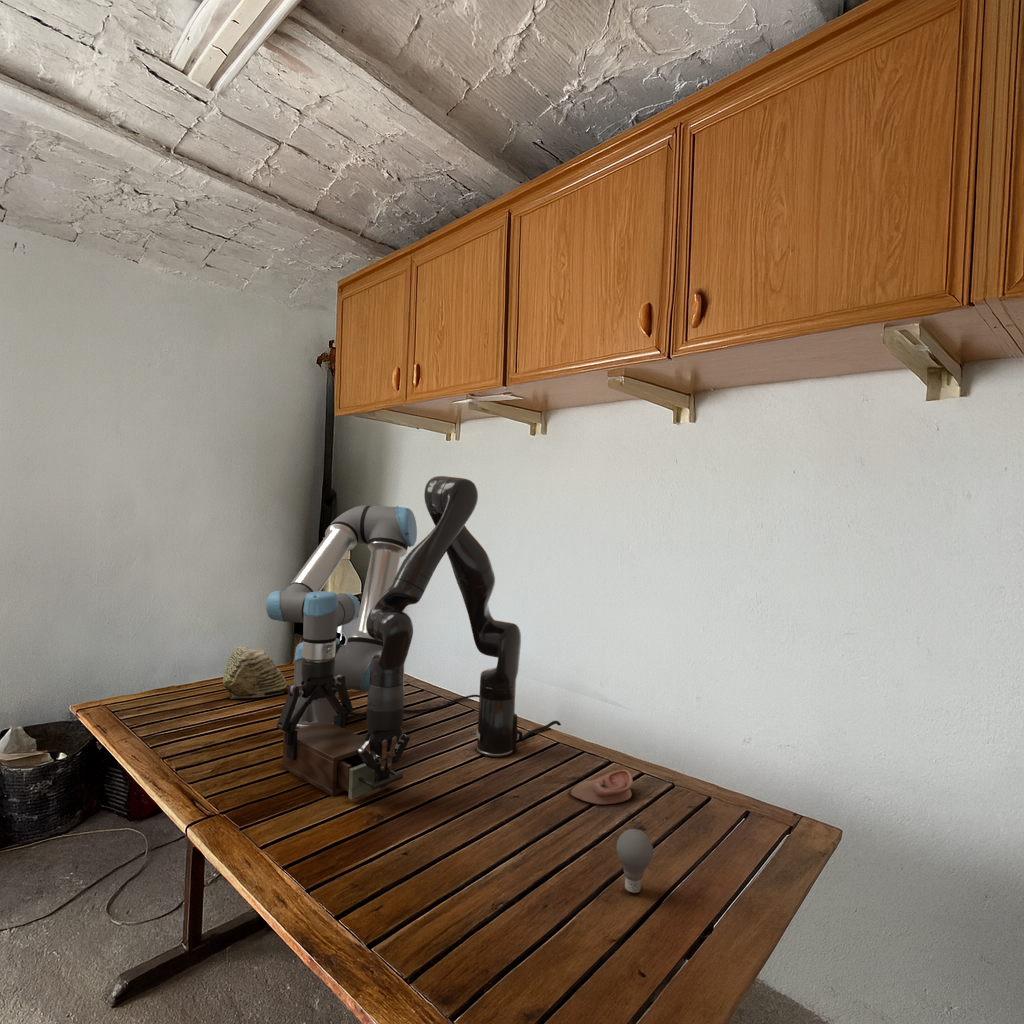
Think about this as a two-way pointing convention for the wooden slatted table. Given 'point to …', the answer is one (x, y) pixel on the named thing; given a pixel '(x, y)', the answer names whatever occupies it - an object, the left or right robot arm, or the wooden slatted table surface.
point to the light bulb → (634, 857)
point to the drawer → (360, 777)
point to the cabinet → (321, 754)
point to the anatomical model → (605, 788)
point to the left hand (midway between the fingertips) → (315, 750)
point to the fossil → (252, 674)
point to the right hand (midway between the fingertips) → (381, 785)
